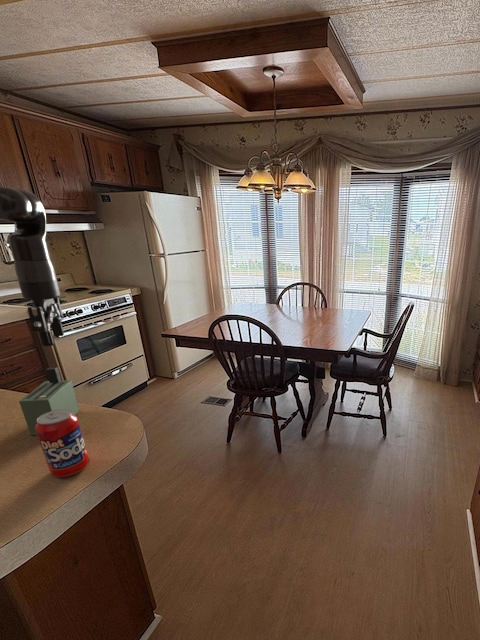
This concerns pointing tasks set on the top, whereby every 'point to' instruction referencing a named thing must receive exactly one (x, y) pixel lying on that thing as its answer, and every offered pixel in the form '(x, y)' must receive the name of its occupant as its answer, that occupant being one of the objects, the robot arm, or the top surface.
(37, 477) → the top surface
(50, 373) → the slider
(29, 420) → the toaster
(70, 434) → the soda can
